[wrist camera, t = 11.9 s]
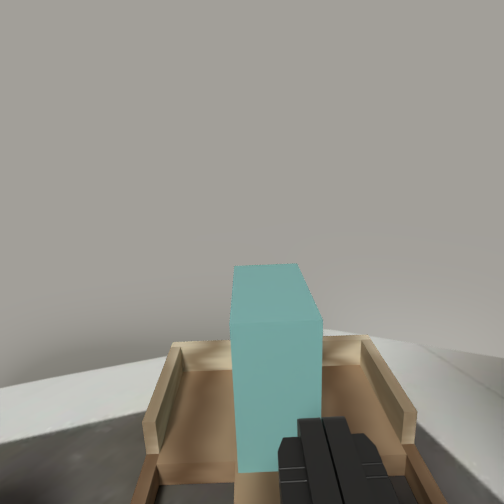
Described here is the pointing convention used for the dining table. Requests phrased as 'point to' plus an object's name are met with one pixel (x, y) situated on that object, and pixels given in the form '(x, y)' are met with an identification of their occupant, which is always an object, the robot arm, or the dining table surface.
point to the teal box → (273, 360)
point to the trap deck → (224, 430)
